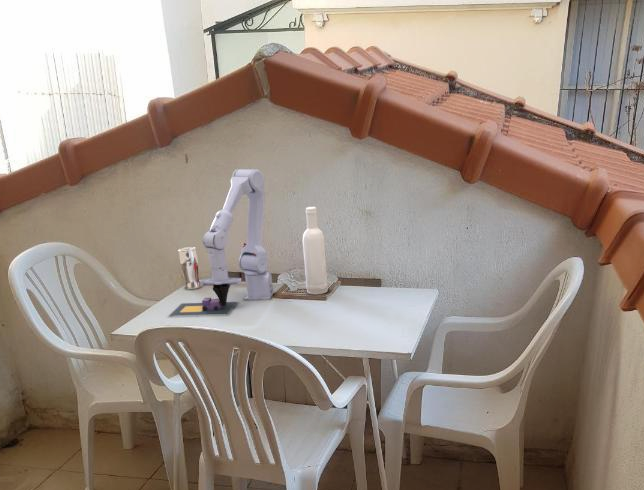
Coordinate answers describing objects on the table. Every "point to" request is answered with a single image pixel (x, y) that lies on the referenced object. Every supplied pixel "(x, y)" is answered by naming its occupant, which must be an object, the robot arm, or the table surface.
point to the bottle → (314, 255)
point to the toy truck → (211, 304)
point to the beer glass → (190, 267)
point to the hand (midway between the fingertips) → (224, 305)
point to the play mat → (200, 309)
